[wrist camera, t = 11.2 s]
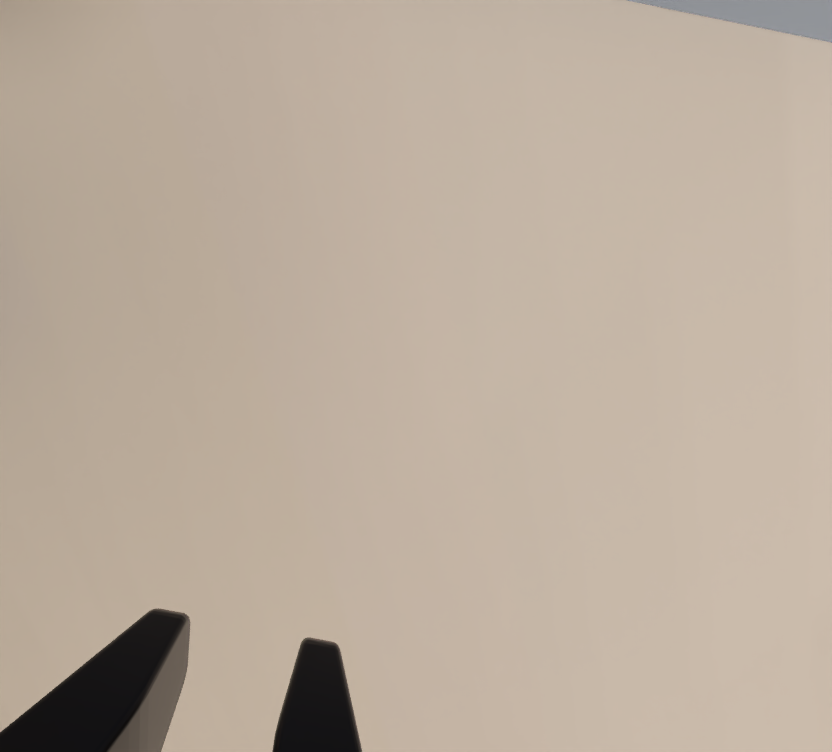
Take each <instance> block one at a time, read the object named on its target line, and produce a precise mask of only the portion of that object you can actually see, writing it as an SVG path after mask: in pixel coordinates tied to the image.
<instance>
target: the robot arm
mask: <svg viewBox="0 0 832 752" xmlns="http://www.w3.org/2000/svg"><path fill="white" fill-rule="evenodd" d="M189 636H190V620H189V617H188V616H187V615H186V614H184V613H180V612H175V611H169V610H164V609H153V610H151V611H149V612H148V613H146V614H145V615H144V616H143V617H142V618H140V619H139V620H138V621H137V622H135V623H134V624H133V625H132V626H131V627H129V628H128V629H127V630H126V631H124V632H123V633H122V634H121V635H119V636H118V637H117V638H116V639H115V640H113V641H112V642H111V643H110V644H108V645H107V646H106V647H105V648H104V649H102V650H101V651H100V652H99V653H97V654H96V655H95V656H94V657H92V658H91V659H90V660H89V661H88V662H86V663H85V664H84V665H83V666H81V667H80V668H79V669H78V670H77V671H75V672H74V673H73V674H72V675H70V676H69V677H68V678H67V679H65V680H64V681H63V682H62V683H61V684H59V685H58V686H57V687H56V688H54V689H53V690H52V691H51V692H49V693H48V694H47V695H46V696H45V697H43V698H42V699H41V700H40V701H38V702H37V703H36V704H35V705H34V706H32V707H31V708H30V709H29V710H27V711H26V712H25V713H24V714H22V715H21V716H20V717H19V718H18V719H16V720H15V721H14V722H13V723H11V724H10V725H9V726H8V727H7V728H5V729H4V730H3V731H2V732H0V752H161V750H162V747H163V744H164V741H165V738H166V735H167V732H168V729H169V726H170V723H171V720H172V717H173V714H174V711H175V708H176V705H177V702H178V699H179V696H180V693H181V690H182V687H183V684H184V680H185V676H186V672H187V666H188V652H189ZM273 752H362V749H361V744H360V739H359V735H358V730H357V726H356V721H355V716H354V712H353V707H352V702H351V698H350V693H349V689H348V684H347V679H346V675H345V670H344V666H343V661H342V656H341V652H340V649H339V646H338V645H337V644H336V643H334V642H330V641H325V640H320V639H314V638H305V639H304V640H303V641H302V643H301V645H300V649H299V652H298V655H297V659H296V662H295V666H294V669H293V672H292V676H291V679H290V683H289V686H288V689H287V693H286V696H285V700H284V703H283V707H282V710H281V713H280V717H279V721H278V725H277V729H276V733H275V739H274V745H273Z"/></svg>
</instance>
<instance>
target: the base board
mask: <svg viewBox="0 0 832 752" xmlns="http://www.w3.org/2000/svg"><path fill="white" fill-rule="evenodd" d="M628 1H633V2H638V3H643V4H648V5H652V6H657V7H662V8H667V9H672V10H677V11H681V12H686V13H691V14H696V15H701V16H706V17H711V18H715V19H720V20H725V21H730V22H735V23H740V24H744V25H749V26H754V27H759V28H764V29H769V30H774V31H778V32H783V33H788V34H793V35H798V36H803V37H807V38H812V39H817V40H822V41H827V42H832V0H628Z"/></svg>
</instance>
